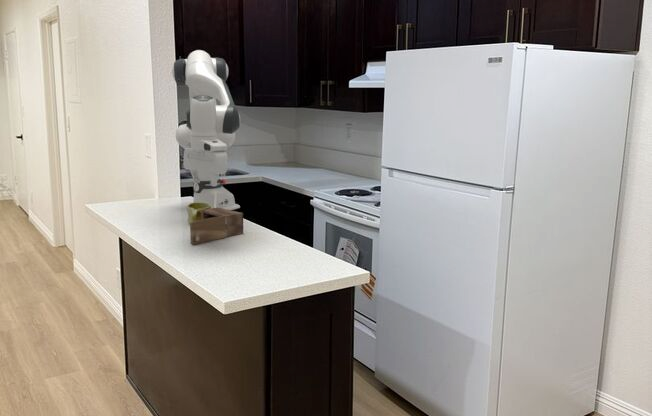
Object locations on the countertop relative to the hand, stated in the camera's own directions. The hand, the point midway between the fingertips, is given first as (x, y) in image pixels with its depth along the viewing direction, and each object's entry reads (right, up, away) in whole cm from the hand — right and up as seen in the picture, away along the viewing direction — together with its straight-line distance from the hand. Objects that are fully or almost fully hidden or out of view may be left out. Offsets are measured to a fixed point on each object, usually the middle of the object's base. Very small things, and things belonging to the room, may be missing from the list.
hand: (205, 184), depth 202 cm
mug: (-10, -15, +36) cm, 40 cm away
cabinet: (+2, -17, +25) cm, 30 cm away
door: (0, -20, +11) cm, 23 cm away
